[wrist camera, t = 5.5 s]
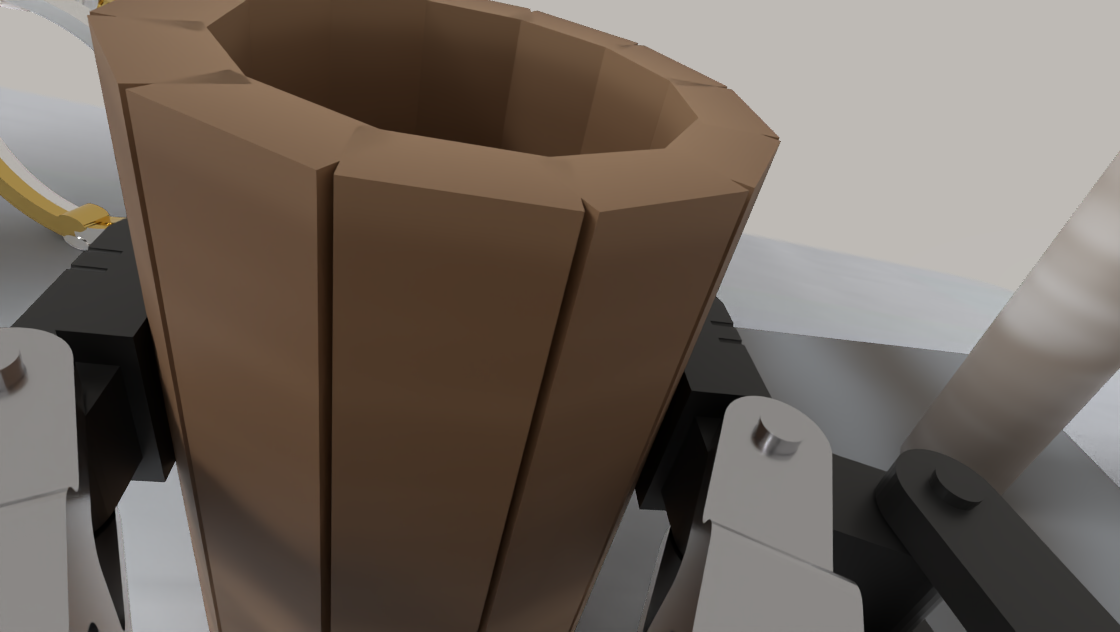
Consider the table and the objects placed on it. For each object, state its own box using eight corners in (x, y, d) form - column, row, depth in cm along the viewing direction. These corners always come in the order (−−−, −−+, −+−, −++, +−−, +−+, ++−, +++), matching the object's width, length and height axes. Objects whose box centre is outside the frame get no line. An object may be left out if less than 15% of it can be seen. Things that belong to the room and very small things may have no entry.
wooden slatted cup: (160, 812, 9) (-129, 105, 3) (273, 472, 14) (236, -53, 8) (577, 797, 10) (899, 258, 4) (547, 489, 15) (683, 40, 9)
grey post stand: (833, 723, 12) (1414, 154, 6) (685, 347, 21) (843, -40, 14) (1281, 716, 14) (2069, 300, 8) (974, 378, 23) (1224, 54, 16)
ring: (233, 255, 20) (206, -34, 15) (152, 308, 17) (89, -22, 13) (38, 188, 20) (-45, -107, 16) (-70, 229, 18) (-204, -110, 13)
